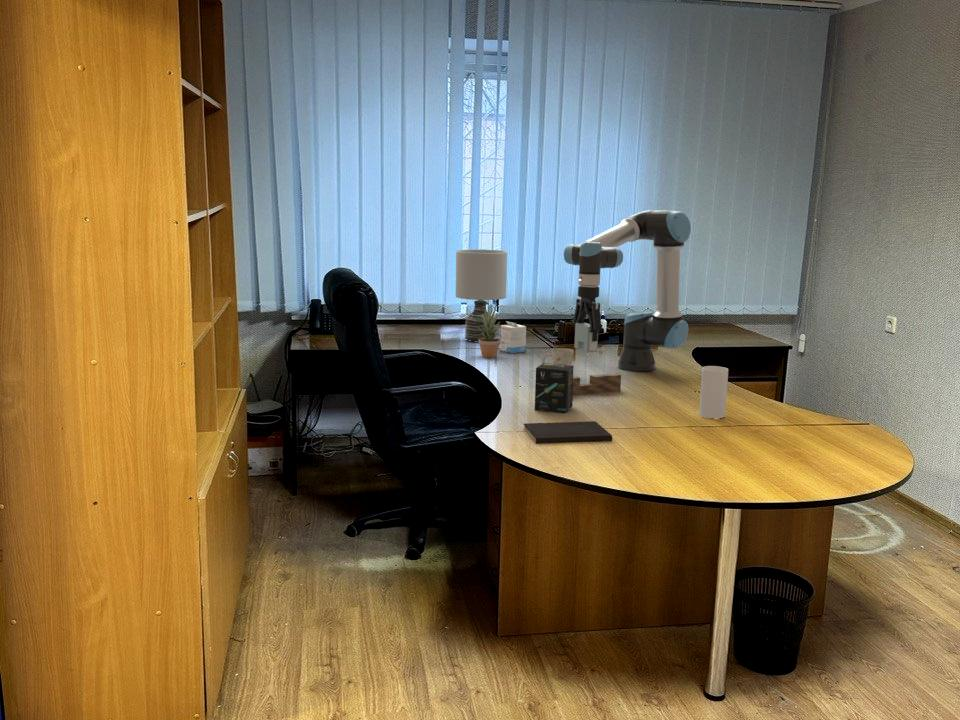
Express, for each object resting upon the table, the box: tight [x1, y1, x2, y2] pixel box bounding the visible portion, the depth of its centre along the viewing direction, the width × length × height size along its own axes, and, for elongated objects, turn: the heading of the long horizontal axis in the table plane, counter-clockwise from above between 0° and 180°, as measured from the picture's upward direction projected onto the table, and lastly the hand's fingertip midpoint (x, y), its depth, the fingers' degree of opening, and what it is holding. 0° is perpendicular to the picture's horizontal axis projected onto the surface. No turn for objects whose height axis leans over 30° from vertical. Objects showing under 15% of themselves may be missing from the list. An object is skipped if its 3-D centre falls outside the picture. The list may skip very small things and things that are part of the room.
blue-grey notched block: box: [573, 322, 599, 353], centre depth 317 cm, size 4×10×9 cm, turn 20°
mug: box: [541, 347, 575, 365], centre depth 349 cm, size 8×13×10 cm, turn 78°
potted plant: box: [477, 300, 501, 358], centre depth 383 cm, size 10×10×25 cm
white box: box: [500, 320, 527, 354], centre depth 396 cm, size 9×8×13 cm
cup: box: [698, 365, 729, 419], centre depth 289 cm, size 8×8×16 cm
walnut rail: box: [573, 372, 622, 396], centre depth 320 cm, size 28×3×6 cm, turn 111°
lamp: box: [455, 248, 508, 341], centre depth 420 cm, size 24×24×42 cm
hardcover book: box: [523, 420, 613, 445], centre depth 265 cm, size 16×23×2 cm
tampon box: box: [534, 362, 574, 414], centre depth 295 cm, size 11×9×15 cm
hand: (585, 347), depth 318 cm, fingers closed on blue-grey notched block, 10 cm apart
